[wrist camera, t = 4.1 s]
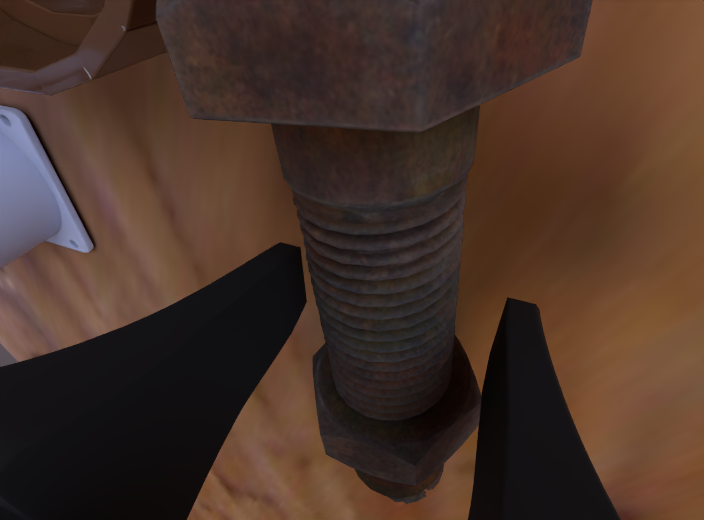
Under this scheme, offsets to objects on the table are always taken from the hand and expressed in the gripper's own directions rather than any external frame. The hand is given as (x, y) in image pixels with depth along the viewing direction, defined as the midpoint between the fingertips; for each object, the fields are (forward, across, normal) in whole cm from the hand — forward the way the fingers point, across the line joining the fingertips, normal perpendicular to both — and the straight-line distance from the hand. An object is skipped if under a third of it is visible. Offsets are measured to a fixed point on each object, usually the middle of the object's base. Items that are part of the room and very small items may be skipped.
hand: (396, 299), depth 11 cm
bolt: (+2, 0, 0) cm, 2 cm away
